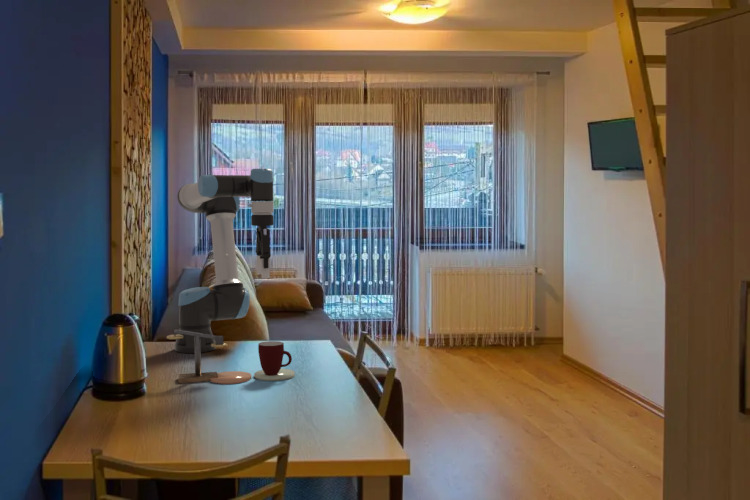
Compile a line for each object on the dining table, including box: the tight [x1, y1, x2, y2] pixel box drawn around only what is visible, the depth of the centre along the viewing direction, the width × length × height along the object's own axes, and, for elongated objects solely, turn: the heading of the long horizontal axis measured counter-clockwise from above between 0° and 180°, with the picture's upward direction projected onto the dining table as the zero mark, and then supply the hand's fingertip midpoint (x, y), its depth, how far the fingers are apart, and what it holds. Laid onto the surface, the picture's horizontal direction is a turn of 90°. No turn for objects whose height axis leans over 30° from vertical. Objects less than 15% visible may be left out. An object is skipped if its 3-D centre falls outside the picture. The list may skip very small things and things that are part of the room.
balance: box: [166, 329, 228, 384], centre depth 239 cm, size 6×19×16 cm, turn 105°
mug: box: [257, 340, 293, 376], centre depth 242 cm, size 11×8×10 cm
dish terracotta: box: [209, 370, 252, 385], centre depth 240 cm, size 13×13×1 cm
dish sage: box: [253, 368, 296, 382], centre depth 244 cm, size 13×13×1 cm
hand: (263, 276), depth 259 cm, fingers open, 13 cm apart
